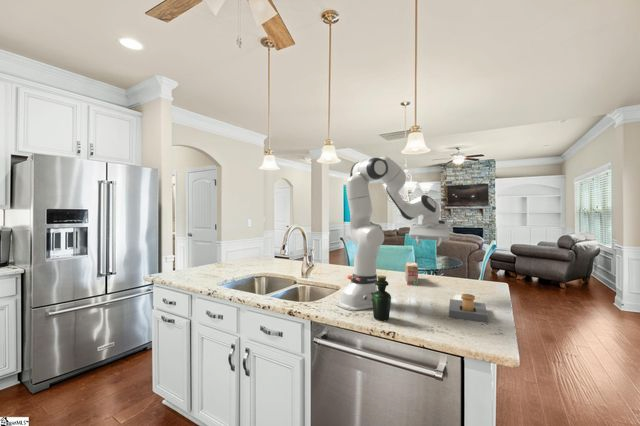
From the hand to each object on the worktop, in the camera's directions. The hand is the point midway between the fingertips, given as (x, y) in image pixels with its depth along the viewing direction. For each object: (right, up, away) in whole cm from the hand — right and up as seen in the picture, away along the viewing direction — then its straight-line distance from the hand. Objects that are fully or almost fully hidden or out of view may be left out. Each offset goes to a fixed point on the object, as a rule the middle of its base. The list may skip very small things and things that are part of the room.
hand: (428, 244), depth 157 cm
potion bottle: (-30, -29, -26) cm, 49 cm away
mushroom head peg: (+10, -29, -22) cm, 38 cm away
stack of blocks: (+3, -28, +40) cm, 49 cm away
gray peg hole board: (+11, -29, -19) cm, 36 cm away
